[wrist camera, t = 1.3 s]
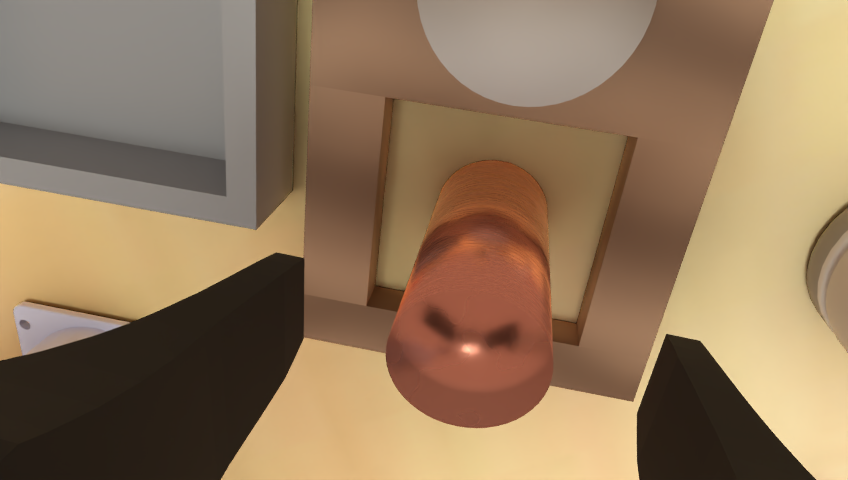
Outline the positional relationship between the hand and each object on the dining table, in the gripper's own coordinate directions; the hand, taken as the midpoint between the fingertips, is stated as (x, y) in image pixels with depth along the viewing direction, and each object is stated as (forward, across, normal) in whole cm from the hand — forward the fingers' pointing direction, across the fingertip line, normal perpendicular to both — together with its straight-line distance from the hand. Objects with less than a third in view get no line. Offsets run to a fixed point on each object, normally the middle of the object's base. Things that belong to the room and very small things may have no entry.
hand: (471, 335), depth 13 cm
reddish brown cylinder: (+11, 0, +3) cm, 11 cm away
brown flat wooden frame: (+11, 0, 0) cm, 11 cm away
